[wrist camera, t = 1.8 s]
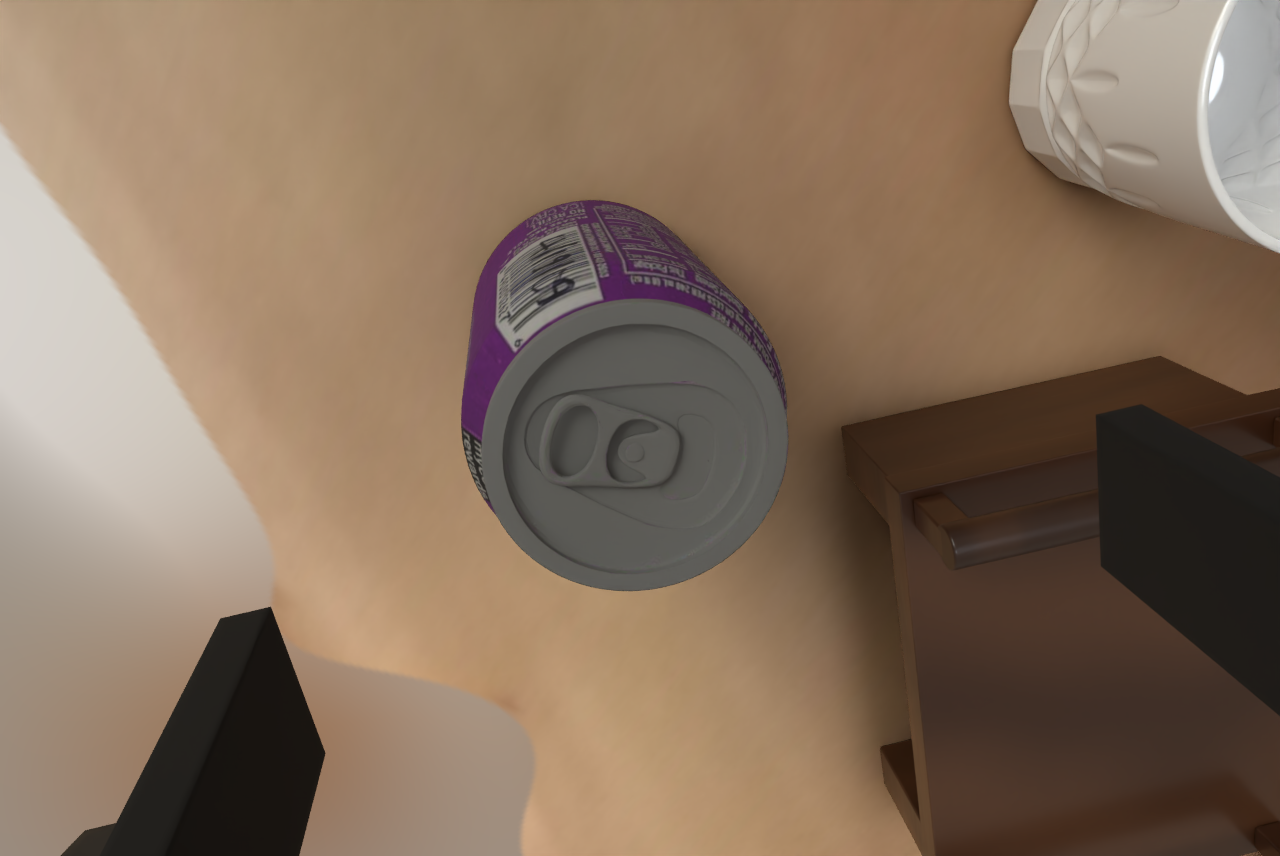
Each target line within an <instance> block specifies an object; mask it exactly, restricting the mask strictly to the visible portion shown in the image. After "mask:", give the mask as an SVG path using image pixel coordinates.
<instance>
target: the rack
mask: <svg viewBox="0 0 1280 856" xmlns="http://www.w3.org/2000/svg"><path fill="white" fill-rule="evenodd" d="M1139 404H1143V405H1144V406H1146V407H1148V408H1150V409H1152V410H1154V411H1156V412H1158V413H1160V414H1161V415H1163V416H1165V417H1167V418H1169V419H1171V420H1173V421H1175V422H1176V423H1178V424H1180V425H1182V426H1184V427H1186V428H1188V429H1190V430H1192V431H1193V432H1195V433H1197V434H1199V435H1201V436H1203V437H1205V438H1207V439H1209V440H1210V441H1212V442H1214V443H1216V444H1218V445H1220V446H1222V447H1224V448H1225V449H1227V450H1229V451H1231V452H1233V453H1235V454H1237V455H1239V456H1241V457H1242V458H1244V459H1246V460H1248V461H1250V462H1252V463H1254V464H1256V465H1258V466H1259V467H1261V468H1263V469H1265V470H1267V471H1269V472H1271V473H1273V474H1274V475H1276V476H1278V477H1280V388H1278V389H1274V390H1269V391H1265V392H1260V393H1256V394H1251V395H1245V394H1243V393H1241V392H1239V391H1237V390H1234V389H1232V388H1230V387H1228V386H1225V385H1223V384H1221V383H1219V382H1217V381H1214V380H1212V379H1210V378H1208V377H1206V376H1203V375H1201V374H1199V373H1197V372H1194V371H1192V370H1190V369H1188V368H1186V367H1183V366H1181V365H1179V364H1177V363H1175V362H1172V361H1170V360H1168V359H1166V358H1163V357H1161V356H1158V357H1154V358H1149V359H1145V360H1140V361H1136V362H1131V363H1127V364H1122V365H1118V366H1113V367H1109V368H1104V369H1100V370H1095V371H1091V372H1086V373H1082V374H1077V375H1072V376H1068V377H1063V378H1059V379H1054V380H1050V381H1045V382H1041V383H1036V384H1032V385H1027V386H1023V387H1018V388H1014V389H1009V390H1005V391H1000V392H996V393H991V394H986V395H982V396H977V397H973V398H968V399H964V400H959V401H955V402H950V403H946V404H941V405H937V406H932V407H928V408H923V409H919V410H914V411H910V412H905V413H901V414H896V415H891V416H887V417H882V418H878V419H873V420H869V421H864V422H860V423H855V424H851V425H846V426H842V437H843V445H844V453H845V462H846V470H847V475H848V476H849V477H850V478H851V480H852V481H853V482H854V483H855V484H856V486H857V487H858V488H859V489H860V491H861V492H862V493H863V494H864V495H865V497H866V498H867V499H868V500H869V501H870V503H871V504H872V505H873V506H874V507H875V509H876V510H877V511H878V512H879V513H880V515H881V516H882V517H883V518H884V520H885V521H886V522H887V523H888V524H889V528H890V538H891V547H892V557H893V566H894V576H895V585H896V594H897V604H898V613H899V623H900V632H901V642H902V651H903V661H904V670H905V680H906V689H907V699H908V708H909V718H910V727H911V737H912V739H910V740H906V741H902V742H898V743H894V744H889V745H885V746H882V747H881V748H880V752H881V760H882V768H883V777H884V784H885V785H886V787H887V789H888V791H889V793H890V795H891V797H892V799H893V801H894V803H895V804H896V806H897V808H898V810H899V812H900V814H901V816H902V818H903V820H904V822H905V823H906V825H907V827H908V829H909V831H910V833H911V835H912V837H913V839H914V841H915V843H916V844H917V846H918V848H919V850H920V852H921V854H922V856H1241V855H1245V854H1249V853H1253V852H1257V851H1259V852H1260V853H1261V855H1262V856H1280V716H1279V715H1278V714H1277V713H1275V712H1274V711H1273V710H1272V709H1271V708H1269V707H1268V706H1267V705H1266V704H1265V703H1264V702H1262V701H1261V700H1260V699H1259V698H1258V697H1256V696H1255V695H1254V694H1253V693H1252V692H1250V691H1249V690H1248V689H1247V688H1246V687H1244V686H1243V685H1242V684H1241V683H1240V682H1238V681H1237V680H1236V679H1235V678H1234V677H1232V676H1231V675H1230V674H1229V673H1228V672H1226V671H1225V670H1224V669H1223V668H1222V667H1221V666H1219V665H1218V664H1217V663H1216V662H1215V661H1213V660H1212V659H1211V658H1210V657H1209V656H1207V655H1206V654H1205V653H1204V652H1203V651H1201V650H1200V649H1199V648H1198V647H1197V646H1195V645H1194V644H1193V643H1192V642H1191V641H1189V640H1188V639H1187V638H1186V637H1185V636H1184V635H1182V634H1181V633H1180V632H1179V631H1178V630H1176V629H1175V628H1174V627H1173V626H1172V625H1170V624H1169V623H1168V622H1167V621H1166V620H1164V619H1163V618H1162V617H1161V616H1160V615H1158V614H1157V613H1156V612H1155V611H1154V610H1152V609H1151V608H1150V607H1149V606H1148V605H1147V604H1145V603H1144V602H1143V601H1142V600H1141V599H1139V598H1138V597H1137V596H1136V595H1135V594H1133V593H1132V592H1131V591H1130V590H1129V589H1127V588H1126V587H1125V586H1124V585H1123V584H1121V583H1120V582H1119V581H1118V580H1117V579H1115V578H1114V577H1113V576H1112V575H1111V574H1110V573H1108V572H1107V571H1106V570H1105V569H1104V568H1102V567H1101V559H1100V529H1099V500H1098V470H1097V440H1096V414H1101V413H1105V412H1109V411H1114V410H1118V409H1122V408H1127V407H1131V406H1135V405H1139Z"/></svg>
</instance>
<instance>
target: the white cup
mask: <svg viewBox="0 0 1280 856" xmlns="http://www.w3.org/2000/svg"><path fill="white" fill-rule="evenodd" d="M1009 106H1010V109H1011V112H1012V114H1013V117H1014V120H1015V122H1016V125H1017V128H1018V130H1019V133H1020V136H1021V139H1022V141H1023V144H1024V147H1025V149H1026V150H1027V151H1028V152H1029V153H1031V154H1032V155H1033V156H1034V157H1035V158H1036V159H1037V160H1039V161H1040V162H1041V163H1042V164H1043V165H1044V166H1046V167H1047V168H1048V169H1049V170H1050V171H1051V172H1052V173H1054V174H1055V175H1056V176H1057V177H1058V178H1060V179H1062V180H1066V181H1069V182H1072V183H1076V184H1079V185H1083V186H1086V187H1090V188H1093V189H1096V190H1098V191H1100V192H1102V193H1104V194H1106V195H1108V196H1110V197H1112V198H1114V199H1116V200H1118V201H1121V202H1124V203H1126V204H1129V205H1132V206H1135V207H1138V208H1141V209H1144V210H1147V211H1149V212H1152V213H1155V214H1157V215H1160V216H1163V217H1165V218H1168V219H1171V220H1174V221H1177V222H1180V223H1183V224H1187V225H1190V226H1193V227H1197V228H1200V229H1203V230H1206V231H1209V232H1213V233H1216V234H1219V235H1222V236H1226V237H1229V238H1232V239H1235V240H1239V241H1242V242H1245V243H1248V244H1251V245H1255V246H1258V247H1261V248H1264V249H1267V250H1270V251H1273V252H1276V253H1280V0H1038V1H1037V3H1036V5H1035V7H1034V9H1033V11H1032V13H1031V15H1030V17H1029V19H1028V21H1027V23H1026V25H1025V27H1024V29H1023V31H1022V33H1021V35H1020V37H1019V39H1018V41H1017V43H1016V45H1015V47H1014V49H1013V53H1012V66H1011V78H1010V91H1009Z"/></svg>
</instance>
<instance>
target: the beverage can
mask: <svg viewBox="0 0 1280 856" xmlns="http://www.w3.org/2000/svg"><path fill="white" fill-rule="evenodd" d="M461 428H462V439H463V446H464V451H465V455H466V459H467V462H468V466H469V469H470V472H471V474H472V477H473V479H474V481H475V483H476V486H477V488H478V490H479V491H480V493H481V495H482V497H483V498H484V500H485V501H486V503H487V504H488V506H489V507H490V508H491V510H492V511H493V512H494V513H495V515H496V516H497V517H498V519H499V520H500V522H501V524H502V526H503V527H504V528H505V530H506V531H507V533H508V534H509V535H510V537H511V538H512V539H513V540H514V541H515V543H516V544H517V545H518V546H519V547H520V548H521V549H522V550H523V551H524V552H525V553H526V554H528V555H529V556H530V557H531V558H532V559H534V560H535V561H536V562H538V563H539V564H540V565H542V566H543V567H545V568H547V569H548V570H550V571H552V572H553V573H555V574H557V575H559V576H561V577H564V578H566V579H568V580H571V581H573V582H576V583H579V584H582V585H586V586H590V587H594V588H599V589H605V590H614V591H641V590H650V589H656V588H662V587H666V586H670V585H674V584H677V583H680V582H683V581H686V580H688V579H691V578H693V577H695V576H698V575H700V574H702V573H704V572H706V571H707V570H709V569H711V568H713V567H714V566H716V565H717V564H719V563H721V562H722V561H724V560H725V559H726V558H728V557H729V556H730V555H731V554H733V553H734V552H735V551H736V550H737V549H738V548H740V547H741V546H742V545H743V544H744V543H745V542H746V541H747V540H748V539H749V537H750V536H751V535H752V534H753V533H754V532H755V531H756V529H757V528H758V527H759V525H760V524H761V523H762V521H763V520H764V518H765V516H766V515H767V513H768V512H769V510H770V508H771V506H772V504H773V502H774V500H775V498H776V496H777V494H778V491H779V488H780V486H781V483H782V480H783V476H784V472H785V467H786V462H787V454H788V425H787V398H786V389H785V382H784V378H783V374H782V370H781V367H780V364H779V361H778V358H777V356H776V353H775V351H774V348H773V346H772V345H771V343H770V341H769V339H768V337H767V335H766V333H765V332H764V330H763V329H762V327H761V325H760V324H759V323H758V321H757V320H756V319H755V317H754V316H753V315H752V314H751V312H750V311H749V310H748V309H747V308H746V307H745V306H744V305H743V304H742V303H741V302H740V301H739V300H738V299H737V298H736V296H735V295H734V294H733V293H732V292H731V291H730V290H729V289H728V288H727V287H726V286H725V285H724V284H723V283H722V282H721V281H720V280H719V279H718V278H717V277H716V276H715V275H714V274H713V273H712V272H711V271H710V270H709V269H708V268H707V267H706V266H705V265H704V264H703V263H702V262H701V261H700V260H699V258H698V257H697V256H696V255H695V254H694V253H693V252H692V251H691V250H690V249H689V248H688V247H687V246H686V245H685V244H684V243H683V242H682V241H681V240H680V239H679V238H678V237H677V236H676V235H675V234H674V233H673V232H672V231H671V230H670V229H669V228H667V227H666V226H665V225H664V224H662V223H661V222H660V221H658V220H657V219H655V218H654V217H652V216H650V215H648V214H646V213H644V212H642V211H640V210H638V209H635V208H633V207H630V206H627V205H623V204H619V203H614V202H609V201H597V200H587V201H576V202H570V203H565V204H561V205H557V206H554V207H551V208H549V209H546V210H544V211H542V212H539V213H537V214H535V215H534V216H532V217H530V218H529V219H527V220H525V221H524V222H523V223H521V224H520V225H518V226H517V227H516V228H515V229H514V230H512V231H511V232H510V233H509V234H508V235H507V236H506V237H505V238H504V239H503V240H502V241H501V243H500V244H499V245H498V246H497V248H496V249H495V250H494V252H493V253H492V255H491V256H490V258H489V260H488V261H487V263H486V265H485V267H484V269H483V271H482V274H481V276H480V279H479V282H478V285H477V289H476V293H475V298H474V305H473V313H472V322H471V330H470V338H469V347H468V355H467V364H466V372H465V381H464V389H463V397H462V413H461Z"/></svg>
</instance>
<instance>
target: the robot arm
mask: <svg viewBox="0 0 1280 856" xmlns="http://www.w3.org/2000/svg"><path fill="white" fill-rule="evenodd" d="M1096 440H1097V470H1098V500H1099V529H1100V559H1101V567H1102V568H1104V569H1105V570H1106V571H1107V572H1108V573H1110V574H1111V575H1112V576H1113V577H1114V578H1115V579H1117V580H1118V581H1119V582H1120V583H1121V584H1123V585H1124V586H1125V587H1126V588H1127V589H1129V590H1130V591H1131V592H1132V593H1133V594H1135V595H1136V596H1137V597H1138V598H1139V599H1141V600H1142V601H1143V602H1144V603H1145V604H1147V605H1148V606H1149V607H1150V608H1151V609H1152V610H1154V611H1155V612H1156V613H1157V614H1158V615H1160V616H1161V617H1162V618H1163V619H1164V620H1166V621H1167V622H1168V623H1169V624H1170V625H1172V626H1173V627H1174V628H1175V629H1176V630H1178V631H1179V632H1180V633H1181V634H1182V635H1184V636H1185V637H1186V638H1187V639H1188V640H1189V641H1191V642H1192V643H1193V644H1194V645H1195V646H1197V647H1198V648H1199V649H1200V650H1201V651H1203V652H1204V653H1205V654H1206V655H1207V656H1209V657H1210V658H1211V659H1212V660H1213V661H1215V662H1216V663H1217V664H1218V665H1219V666H1221V667H1222V668H1223V669H1224V670H1225V671H1226V672H1228V673H1229V674H1230V675H1231V676H1232V677H1234V678H1235V679H1236V680H1237V681H1238V682H1240V683H1241V684H1242V685H1243V686H1244V687H1246V688H1247V689H1248V690H1249V691H1250V692H1252V693H1253V694H1254V695H1255V696H1256V697H1258V698H1259V699H1260V700H1261V701H1262V702H1264V703H1265V704H1266V705H1267V706H1268V707H1269V708H1271V709H1272V710H1273V711H1274V712H1275V713H1277V714H1278V715H1279V716H1280V477H1278V476H1276V475H1274V474H1273V473H1271V472H1269V471H1267V470H1265V469H1263V468H1261V467H1259V466H1258V465H1256V464H1254V463H1252V462H1250V461H1248V460H1246V459H1244V458H1242V457H1241V456H1239V455H1237V454H1235V453H1233V452H1231V451H1229V450H1227V449H1225V448H1224V447H1222V446H1220V445H1218V444H1216V443H1214V442H1212V441H1210V440H1209V439H1207V438H1205V437H1203V436H1201V435H1199V434H1197V433H1195V432H1193V431H1192V430H1190V429H1188V428H1186V427H1184V426H1182V425H1180V424H1178V423H1176V422H1175V421H1173V420H1171V419H1169V418H1167V417H1165V416H1163V415H1161V414H1160V413H1158V412H1156V411H1154V410H1152V409H1150V408H1148V407H1146V406H1144V405H1143V404H1139V405H1135V406H1131V407H1127V408H1122V409H1118V410H1114V411H1109V412H1105V413H1101V414H1096ZM324 757H325V751H324V748H323V745H322V743H321V740H320V737H319V735H318V732H317V729H316V727H315V724H314V722H313V719H312V716H311V713H310V711H309V708H308V705H307V703H306V700H305V697H304V695H303V692H302V689H301V686H300V684H299V681H298V679H297V676H296V673H295V671H294V668H293V665H292V662H291V660H290V657H289V654H288V652H287V649H286V646H285V644H284V641H283V638H282V635H281V633H280V630H279V627H278V625H277V622H276V619H275V617H274V614H273V611H272V609H271V607H268V608H264V609H259V610H255V611H251V612H247V613H242V614H238V615H234V616H230V617H225V618H221V619H220V620H219V622H218V624H217V626H216V628H215V630H214V632H213V634H212V636H211V638H210V640H209V642H208V644H207V646H206V648H205V650H204V652H203V654H202V656H201V658H200V660H199V662H198V664H197V666H196V667H195V669H194V672H193V673H192V676H191V677H190V679H189V681H188V683H187V685H186V687H185V689H184V691H183V693H182V695H181V697H180V699H179V701H178V703H177V705H176V707H175V709H174V711H173V713H172V715H171V717H170V719H169V721H168V722H167V725H166V727H165V729H164V730H163V733H162V734H161V736H160V738H159V740H158V742H157V744H156V746H155V748H154V750H153V752H152V754H151V756H150V758H149V760H148V762H147V764H146V766H145V768H144V770H143V772H142V774H141V776H140V778H139V780H138V782H137V784H136V786H135V787H134V789H133V791H132V793H131V795H130V797H129V799H128V801H127V803H126V805H125V807H124V809H123V811H122V813H121V815H120V817H119V819H118V821H117V823H114V824H111V825H106V826H102V827H98V828H94V829H90V830H85V831H84V832H83V833H82V834H81V835H80V836H79V837H78V838H77V839H76V840H75V841H74V843H72V844H71V846H69V848H68V849H67V850H66V851H65V852H64V853H63V854H62V855H61V856H299V854H300V850H301V846H302V842H303V839H304V835H305V831H306V826H307V823H308V819H309V815H310V811H311V807H312V803H313V800H314V796H315V792H316V788H317V784H318V780H319V776H320V772H321V768H322V765H323V761H324Z"/></svg>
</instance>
